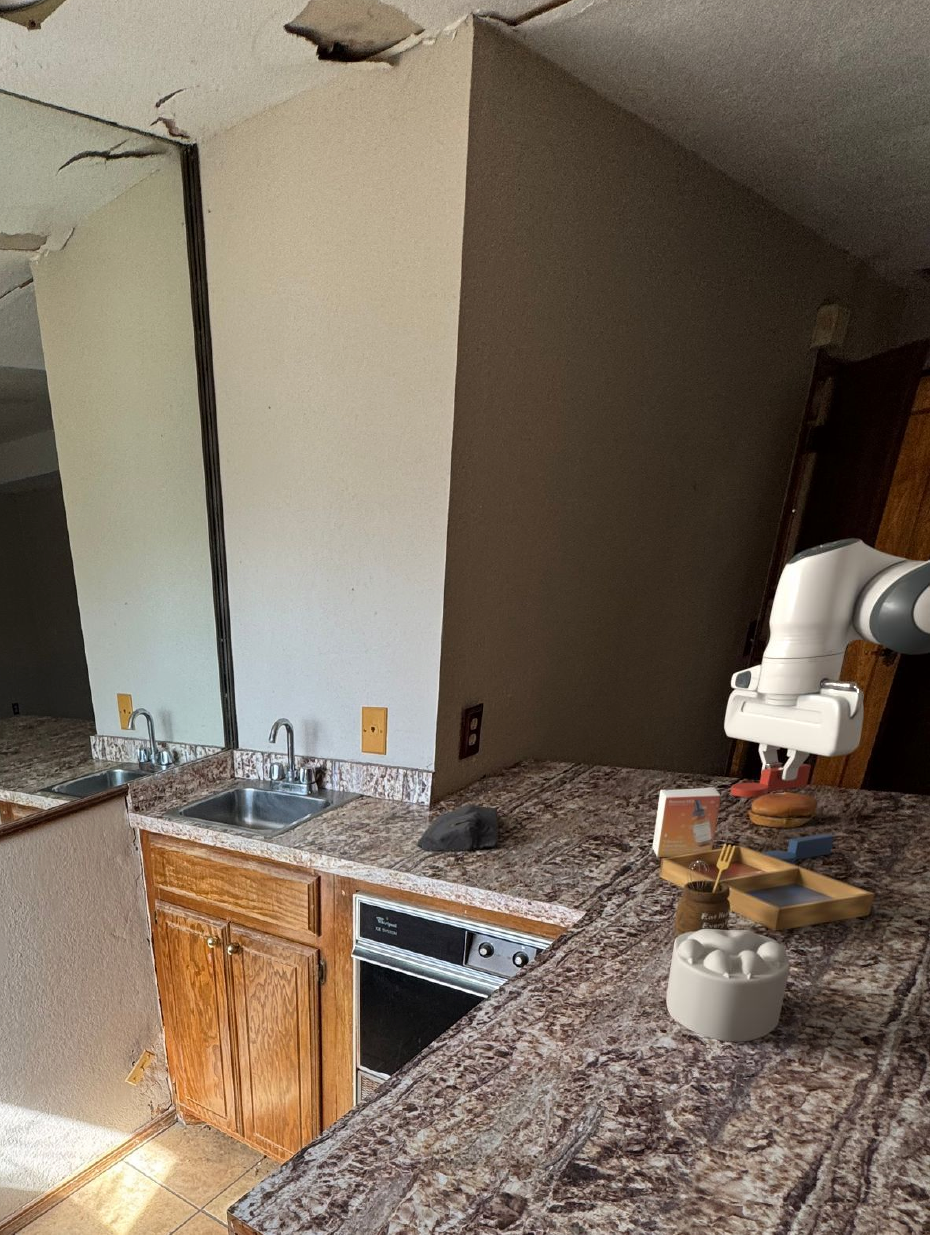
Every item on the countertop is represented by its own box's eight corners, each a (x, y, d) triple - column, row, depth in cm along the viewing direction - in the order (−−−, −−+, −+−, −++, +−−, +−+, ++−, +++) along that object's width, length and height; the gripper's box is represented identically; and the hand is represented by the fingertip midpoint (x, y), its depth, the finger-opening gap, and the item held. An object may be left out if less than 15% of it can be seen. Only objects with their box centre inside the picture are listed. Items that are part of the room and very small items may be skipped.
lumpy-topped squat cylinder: (765, 989, 91) (780, 921, 88) (789, 1046, 81) (806, 972, 77) (662, 983, 96) (672, 918, 92) (672, 1036, 86) (683, 966, 82)
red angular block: (790, 781, 115) (794, 761, 114) (814, 787, 111) (819, 766, 110) (723, 792, 115) (727, 771, 114) (745, 798, 111) (749, 777, 110)
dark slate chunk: (509, 818, 164) (509, 796, 162) (495, 851, 147) (496, 827, 145) (434, 819, 171) (434, 798, 169) (412, 851, 154) (412, 828, 152)
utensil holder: (662, 934, 107) (674, 851, 102) (696, 922, 109) (709, 839, 104) (703, 947, 102) (717, 861, 97) (737, 935, 104) (753, 849, 99)
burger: (766, 831, 136) (771, 805, 134) (736, 818, 144) (740, 793, 142) (828, 824, 135) (834, 798, 133) (794, 811, 143) (799, 786, 141)
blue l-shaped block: (815, 848, 126) (818, 830, 125) (838, 856, 122) (842, 838, 121) (754, 859, 126) (757, 841, 125) (775, 866, 122) (778, 848, 121)
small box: (656, 858, 132) (664, 797, 128) (651, 848, 137) (659, 788, 132) (712, 857, 129) (722, 794, 125) (705, 847, 134) (715, 786, 129)
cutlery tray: (737, 863, 125) (740, 845, 124) (869, 915, 104) (874, 893, 102) (658, 876, 125) (661, 858, 124) (774, 931, 104) (779, 909, 102)
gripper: (889, 678, 97) (862, 788, 103) (764, 668, 116) (747, 761, 122) (840, 686, 97) (816, 795, 103) (723, 674, 116) (708, 768, 122)
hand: (778, 777), depth 113 cm, fingers closed on red angular block
